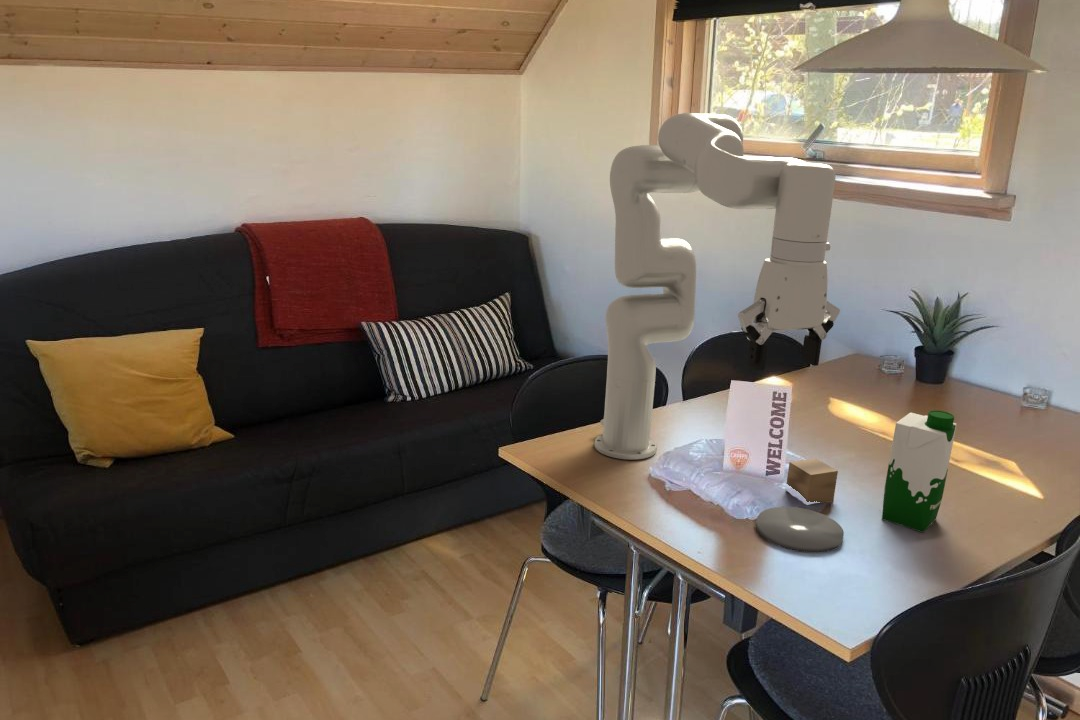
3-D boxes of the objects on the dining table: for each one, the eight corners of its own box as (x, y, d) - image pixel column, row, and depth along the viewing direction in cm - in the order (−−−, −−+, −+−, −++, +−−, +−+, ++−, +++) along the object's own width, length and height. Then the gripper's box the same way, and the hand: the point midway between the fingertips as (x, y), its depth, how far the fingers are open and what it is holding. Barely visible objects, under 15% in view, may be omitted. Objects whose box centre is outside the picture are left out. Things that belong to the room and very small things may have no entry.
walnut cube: (785, 492, 165) (789, 461, 163) (811, 487, 167) (815, 458, 165) (806, 505, 159) (810, 474, 158) (833, 501, 162) (837, 470, 160)
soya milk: (927, 536, 150) (948, 424, 144) (873, 518, 155) (892, 410, 150) (942, 519, 157) (963, 411, 151) (890, 503, 162) (909, 398, 156)
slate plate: (739, 519, 153) (740, 513, 152) (805, 508, 158) (806, 502, 158) (791, 558, 141) (792, 551, 140) (861, 545, 146) (862, 538, 146)
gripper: (828, 245, 134) (813, 354, 139) (731, 248, 128) (719, 362, 133) (863, 254, 128) (846, 368, 133) (763, 257, 121) (749, 377, 126)
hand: (783, 365), depth 133 cm, fingers open, 9 cm apart
